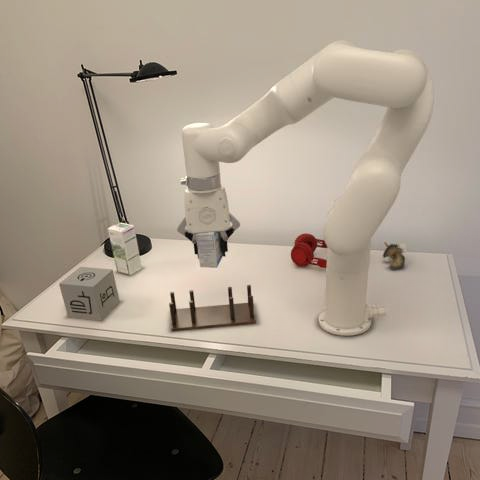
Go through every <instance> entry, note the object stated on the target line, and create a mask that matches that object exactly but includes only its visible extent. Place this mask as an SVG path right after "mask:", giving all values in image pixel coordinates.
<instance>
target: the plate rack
mask: <svg viewBox="0 0 480 480" xmlns="http://www.w3.org/2000/svg"><path fill="white" fill-rule="evenodd" d="M246 292H247V293H246V294H247V302H240V303H235V302H234V296H233V287H232V286H228V287H227V295H228V304H217V305H206V306H198V307H197V306H196V301H195V293H194V290H193V289H190V290H189V292H188V293H189V299H190V300H188V304H189V307H185V308H184V307H183V308H177V303H176V297H175V292H174V291H170V292H169V296H170V302H169V303H168V306H169V313H170V318H171V319H170V320H171V326H170V331H171V332H181V331H191V330H203V329H213V328H223V327H235V326H236V327H237V326H246V325H247V326H248V325H256V324H257V320H256V316H255V307H254V306H255V305H254V296H253V295H252V285H251V284H247V285H246Z"/></svg>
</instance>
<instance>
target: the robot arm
mask: <svg viewBox="0 0 480 480" xmlns="http://www.w3.org/2000/svg"><path fill="white" fill-rule="evenodd" d="M334 98H336V99H340V100H345V101H350V102H355V103H361V104H366V105H367V104H368V105H373V106H378V107H384V108H385V107H386V110H385V113H384V115H383V117H382V119H381V120H380V123H379V125H378V126H377V129H376V131H375V133H374V134H373V136H372V138H371V140H370V142H369V143H368V144H367V146H366V149H364V151H363V153H362V155H361V156H360V157H359V159H358V160H357V162H356V163H355V165H354V167H353V170H352V172H351V176H350V179H349V181H348V183H347V185H346V187H345V189H343V192H342V194H341V195H340V196H339V197H337V198H336V199H335V200H334V201H333V202H332V204H331V205H330V208H329V210H328V212H327V215H326V218H325V222H324V225H323V231H322V236H323V240H325V243H326V245H327V248H326V260H327V265H326V268H325V269H326V271H325V302H324V304H325V305H324V306H325V307H324V310H322V311H321V312H320V313H319V315H318V325H319V326H320V328H321V329H322V330H324V331H325V332H327V333H330V334H332V335H335V336H340V337H341V336H342V337H346V336H347V337H350V336H358V335H361V334H363V333H365V332H366V331H368V330H369V329H370V328H371V326H372V318H373V317H383V316H386V314H387V313H386V308H385V307H378V305H377V303H372V304H367V295H368V283H369V282H368V280H369V267H370V260H371V259H370V258H371V246H372V245H371V243H372V238H373V236H374V235H375V233H376V232H377V231H378V229H379V228H380V226H381V225H382V223H383V221H384V220H385V218H386V217H387V215H388V213H389V212H390V210H391V208H392V207H393V206H394V203H395V202H396V200H397V198H398V195H399V194H400V189H401V181H402V180H401V179H402V174H403V172H404V169H405V167H406V166H407V164H408V162H409V161H410V159H411V158H412V156H413V154H414V153H415V151H416V149H417V148H418V146H419V143H420V142H421V140H422V138H423V136H424V135H425V133H426V131H427V128H428V126H429V124H430V122H431V119H432V114H433V110H434V104H435V87H434V82H433V79H432V75H431V73H430V70H429V68H428V66H427V63H426V62H425V61H424V59H423V58H422V56H420V54H419V53H417V52H416V51H414V50H411V49H407V48H404V49H403V48H402V49H398V50H394V51H392V52H388V51H380V50H374V49H367V48H363V47H358V46H356V45H355V44H354V43H353V42H352V41H350V40H346V39H337V40H335V41H333V42H330V43H329V44H327V45H326V46H325V47H323V48H322V49H321V50H319V51H318V52H317V53H315V54H314V55H313V56H311V57H310V58H309V59H308V60H306V61H304V62H303V63H302V64H300V66H299V65H298V67H297V68H295V69H294V70H293V71H291V72H289V74H287V75H286V76H285V77H283V78H282V79H280V80H278V82H276V83H275V84H274V85H273V86H272V87H271V88H270V90H268V91H267V93H266V94H265V95H263V96H262V97H261V98H260V99H258V100H256V102H254V103H253V104H252V105H250V106H249V107H248V108H246V109H245V110H244V111H242V112H241V113H240V114H238V115H236V116H235V117H234V118H232V119H231V120H229V121H228V122H226V123H225V124H224V125H222V126H219V127H215V125H214V124H212V123H207V122H196V123H191V124H188V125H185V126H184V127H183V128H182V129H181V130H182V131H181V142H182V148H183V157H184V165H185V174H186V176H185V177H183V178H180V185H184V186H186V188H185V190H184V214H185V216H184V218H183V219H182V220H181V222H180V223H179V224H178V226H177V229H176V231H177V232H178V233H179V234H180V235H182V236H184V237H185V238H187V239H188V240H189V241H190V242H191V243H192V244H193V251H194V252H193V253H194V255H197V260H199V255H198V247H197V238H196V235H197V233H205V232H220V234H221V236H222V238H221V244H222V255H223V257H226V253H228V252H229V245H228V240H229V239H230V237H231V236H232V235H233V234H234V232H235V231H237V230H238V229H239V228H240V227H241V222H240V220H238V219H237V218H236V217H235V215H233V214H232V213H231V212H230V208H229V202H228V196H227V191H226V188H225V186H224V185H223V184H222V182H221V181H222V180H221V168H220V163H224V164H234V163H237V162H240V161H241V160H243V158H245V156H246V155H247V154H248V153H249V152H250V151H251V150H252V149H254V148H255V147H256V146H257V145H258V144H260V143H261V142H264V140H266V139H267V138H269V137H270V136H271V135H273V134H274V133H276V132H277V131H279V130H281V129H282V128H284V127H286V126H287V127H288V126H289V125H290V126H291V125H294V124H297V123H299V122H301V121H302V120H305V118H307V117H308V116H309V115H311V114H312V113H314V112H315V111H317V110H318V109H319V108H321V107H322V106H324V105H325V104H327V103H328V102H330V101H332V100H333V99H334ZM223 257H222V258H223Z"/></svg>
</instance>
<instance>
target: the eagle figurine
mask: <svg viewBox="0 0 480 480" xmlns="http://www.w3.org/2000/svg"><path fill="white" fill-rule="evenodd" d="M384 245H385V247H386V248H385V249H384V251H383V254H382V257H383V259H384V258H386V259H385V263H387V262H389V261H391V263H390V264H389V266H388V269H390V270H391V271H398V270H401V269H403V267H404V266H405V262H406V258H405V255H404V254H405V253H407V249H408V247H407V245H406V243H404V242H401V243H399V244H397V243H395V244H394V243H391V244H387V242H386V241H384Z"/></svg>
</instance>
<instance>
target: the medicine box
mask: <svg viewBox="0 0 480 480" xmlns="http://www.w3.org/2000/svg"><path fill="white" fill-rule="evenodd" d="M196 238H197V247H198V255H199V259H198V262H199V267H200V268H218V267H219V265H220V263H221V261H222V259H223V255H222V244H221V238H222V236H221V234H220V232H205V233H197V235H196ZM198 255H197V256H198Z"/></svg>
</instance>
